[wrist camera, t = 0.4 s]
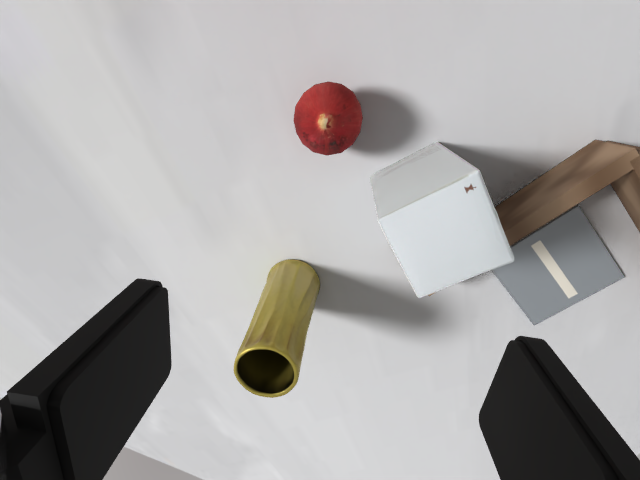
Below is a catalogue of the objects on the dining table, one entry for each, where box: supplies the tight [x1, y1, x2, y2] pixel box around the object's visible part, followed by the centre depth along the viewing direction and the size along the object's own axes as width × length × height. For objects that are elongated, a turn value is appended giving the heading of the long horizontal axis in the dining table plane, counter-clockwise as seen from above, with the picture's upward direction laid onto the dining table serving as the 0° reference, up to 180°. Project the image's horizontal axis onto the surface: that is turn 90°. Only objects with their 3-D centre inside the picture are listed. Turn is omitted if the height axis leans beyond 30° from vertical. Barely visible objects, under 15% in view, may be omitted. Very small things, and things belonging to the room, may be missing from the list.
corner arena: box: [428, 140, 640, 296], centre depth 36 cm, size 21×21×5 cm
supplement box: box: [370, 142, 514, 298], centre depth 30 cm, size 7×7×13 cm
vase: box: [234, 260, 320, 398], centre depth 34 cm, size 6×6×14 cm
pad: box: [492, 205, 624, 325], centre depth 37 cm, size 10×10×1 cm
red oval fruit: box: [294, 82, 363, 155], centre depth 30 cm, size 6×6×8 cm
